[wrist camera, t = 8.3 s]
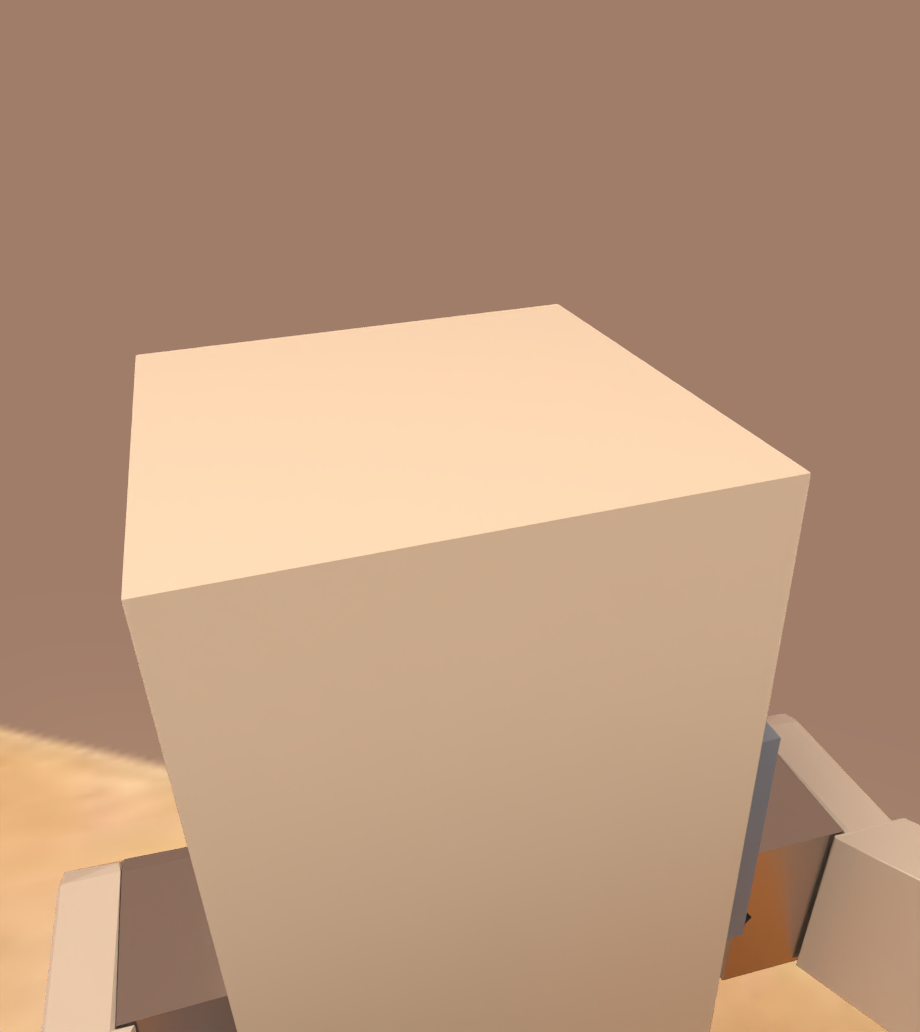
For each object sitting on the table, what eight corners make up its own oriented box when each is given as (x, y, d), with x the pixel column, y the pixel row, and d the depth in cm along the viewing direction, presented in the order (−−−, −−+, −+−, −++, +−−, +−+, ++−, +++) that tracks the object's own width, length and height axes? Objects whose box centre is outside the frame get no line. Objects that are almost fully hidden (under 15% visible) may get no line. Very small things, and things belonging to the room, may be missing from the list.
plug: (376, 1549, 11) (120, 600, 4) (328, 1223, 14) (135, 355, 7) (691, 1404, 12) (935, 449, 5) (584, 1130, 15) (641, 293, 8)
